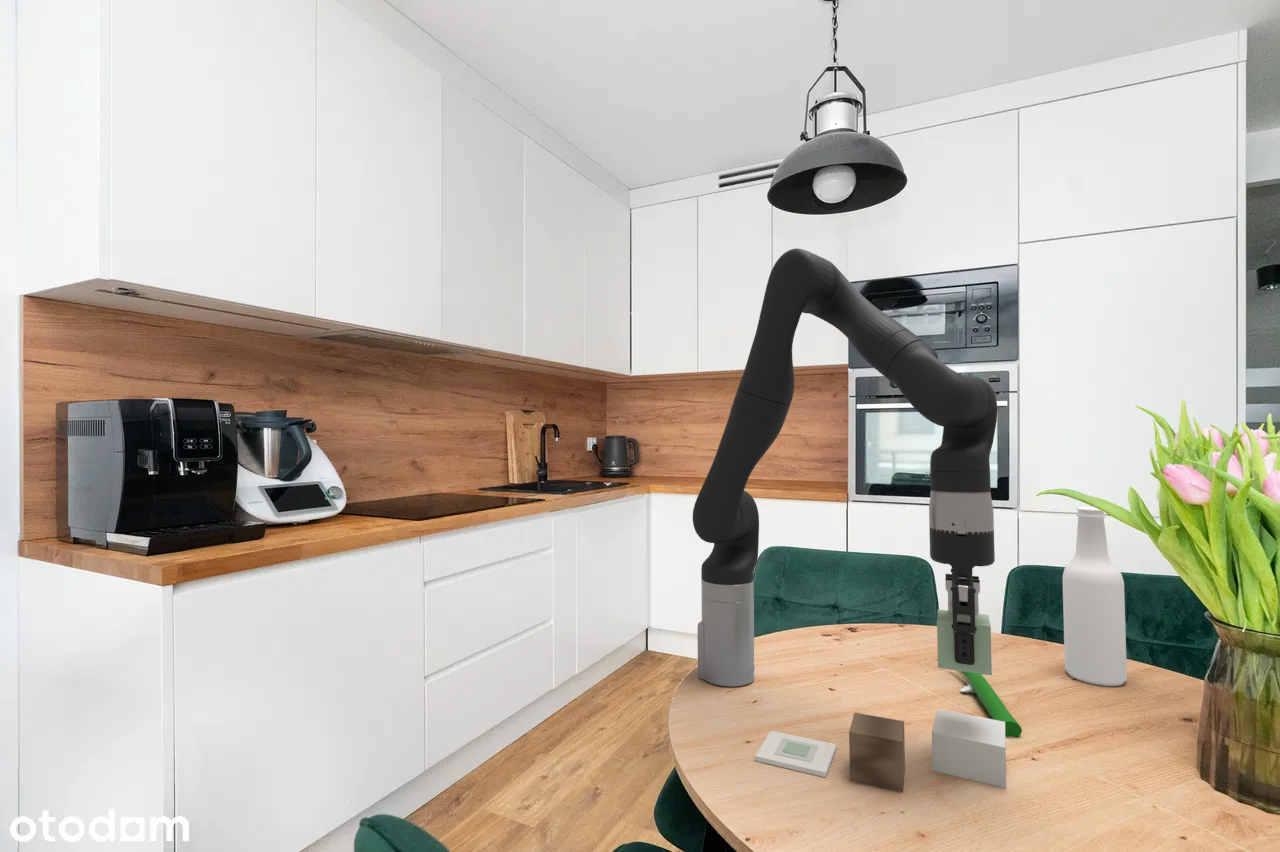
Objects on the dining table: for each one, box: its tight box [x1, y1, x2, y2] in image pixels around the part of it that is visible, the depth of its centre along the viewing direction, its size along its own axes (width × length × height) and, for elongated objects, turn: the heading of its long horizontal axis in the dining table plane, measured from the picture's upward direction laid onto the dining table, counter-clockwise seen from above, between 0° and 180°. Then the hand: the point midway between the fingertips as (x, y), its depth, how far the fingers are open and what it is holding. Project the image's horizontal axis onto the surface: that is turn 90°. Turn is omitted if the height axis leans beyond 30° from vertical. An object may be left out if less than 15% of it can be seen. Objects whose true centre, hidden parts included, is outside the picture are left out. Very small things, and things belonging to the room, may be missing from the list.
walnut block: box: [848, 712, 906, 793], centre depth 76 cm, size 6×6×6 cm
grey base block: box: [931, 708, 1007, 789], centre depth 79 cm, size 8×8×5 cm
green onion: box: [959, 671, 1023, 738], centre depth 101 cm, size 5×3×30 cm
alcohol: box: [1062, 506, 1128, 687], centre depth 108 cm, size 9×9×30 cm
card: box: [754, 730, 838, 778], centre depth 81 cm, size 9×8×1 cm
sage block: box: [936, 608, 993, 676], centre depth 80 cm, size 6×6×6 cm
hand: (964, 654), depth 80 cm, fingers closed on sage block, 6 cm apart
